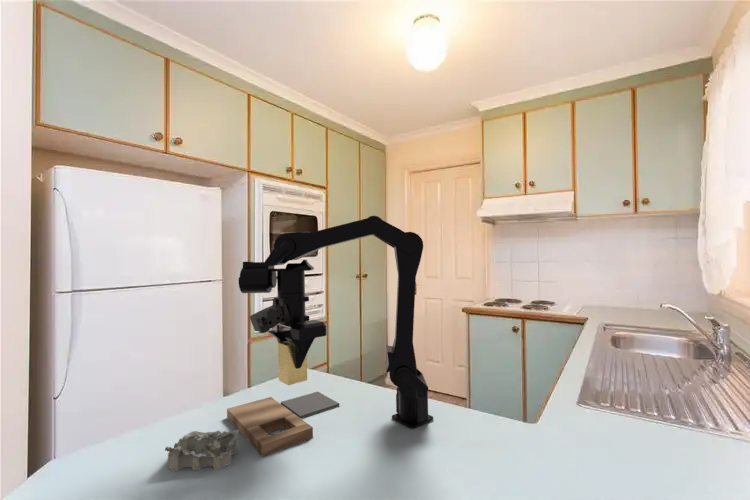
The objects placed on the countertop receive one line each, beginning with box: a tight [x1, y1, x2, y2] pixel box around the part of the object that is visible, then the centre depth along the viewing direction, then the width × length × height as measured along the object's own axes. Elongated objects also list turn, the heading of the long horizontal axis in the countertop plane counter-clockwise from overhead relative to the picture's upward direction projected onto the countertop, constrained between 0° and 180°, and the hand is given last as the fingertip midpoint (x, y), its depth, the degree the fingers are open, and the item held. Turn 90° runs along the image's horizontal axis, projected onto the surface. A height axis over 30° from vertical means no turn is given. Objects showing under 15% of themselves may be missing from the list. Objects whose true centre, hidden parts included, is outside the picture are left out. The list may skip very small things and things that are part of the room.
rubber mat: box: [280, 391, 340, 419], centre depth 85 cm, size 10×10×1 cm
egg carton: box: [164, 428, 240, 472], centre depth 63 cm, size 11×8×4 cm
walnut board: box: [226, 396, 314, 457], centre depth 74 cm, size 20×10×2 cm, turn 39°
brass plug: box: [277, 341, 308, 386], centre depth 77 cm, size 4×4×8 cm
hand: (292, 365), depth 77 cm, fingers closed on brass plug, 4 cm apart
